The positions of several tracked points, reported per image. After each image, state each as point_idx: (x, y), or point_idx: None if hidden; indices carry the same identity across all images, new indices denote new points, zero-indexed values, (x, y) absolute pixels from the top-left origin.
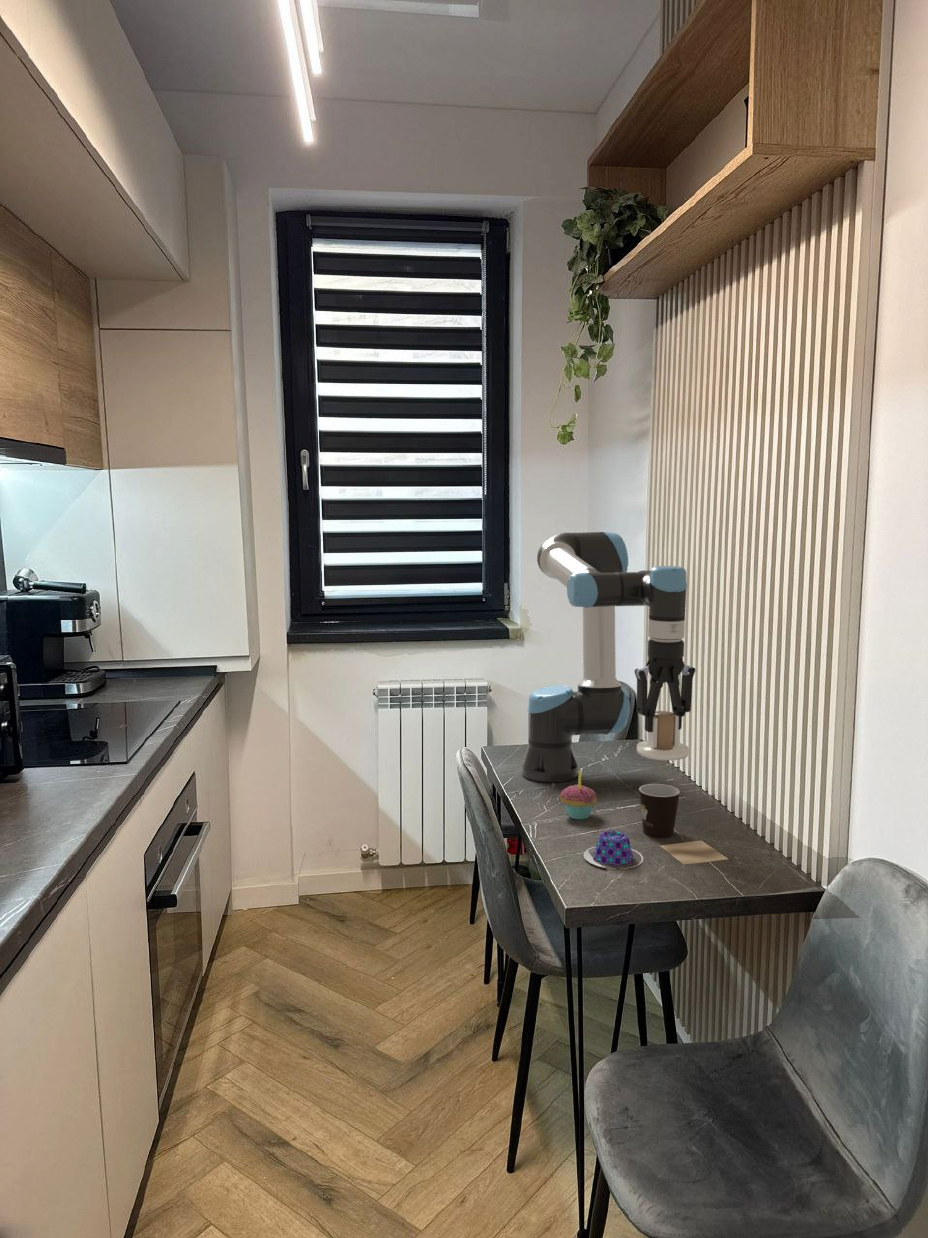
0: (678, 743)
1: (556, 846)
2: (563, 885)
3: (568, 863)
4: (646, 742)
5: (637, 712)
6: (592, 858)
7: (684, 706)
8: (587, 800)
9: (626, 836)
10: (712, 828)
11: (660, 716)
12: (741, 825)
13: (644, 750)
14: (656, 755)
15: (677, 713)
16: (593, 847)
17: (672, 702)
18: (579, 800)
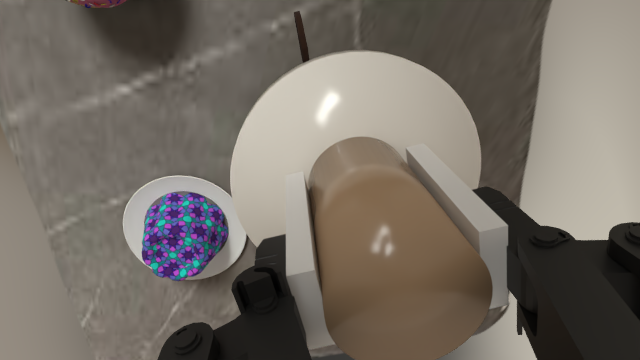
0: (461, 128)
1: (60, 165)
2: (87, 322)
3: (93, 246)
4: (298, 102)
5: (175, 333)
6: (143, 226)
7: (633, 308)
8: (110, 2)
9: (202, 261)
10: (455, 77)
11: (357, 356)
12: (532, 61)
13: (255, 230)
14: None
15: (518, 303)
16: (146, 186)
17: (555, 331)
18: (81, 3)
